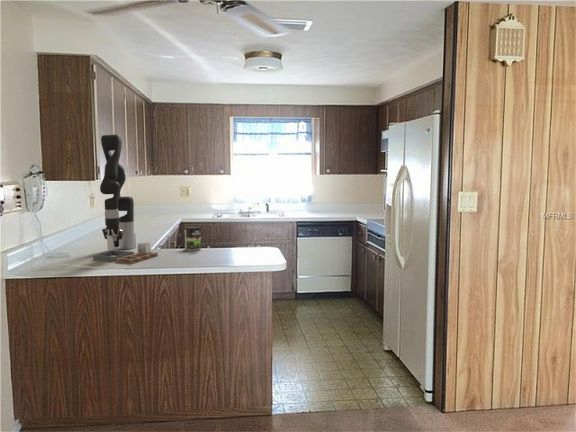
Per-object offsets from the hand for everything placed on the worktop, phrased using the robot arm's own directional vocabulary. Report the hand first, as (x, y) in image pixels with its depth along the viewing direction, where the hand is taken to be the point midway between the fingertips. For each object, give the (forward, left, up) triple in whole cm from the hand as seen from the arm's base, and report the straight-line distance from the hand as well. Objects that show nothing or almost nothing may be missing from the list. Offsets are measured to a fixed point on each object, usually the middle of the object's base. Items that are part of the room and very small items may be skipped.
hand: (113, 246), depth 269 cm
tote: (0, 0, -7) cm, 7 cm away
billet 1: (0, 0, -1) cm, 1 cm away
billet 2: (-8, +15, -6) cm, 18 cm away
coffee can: (-43, +25, -8) cm, 50 cm away
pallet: (-2, +15, -7) cm, 17 cm away
